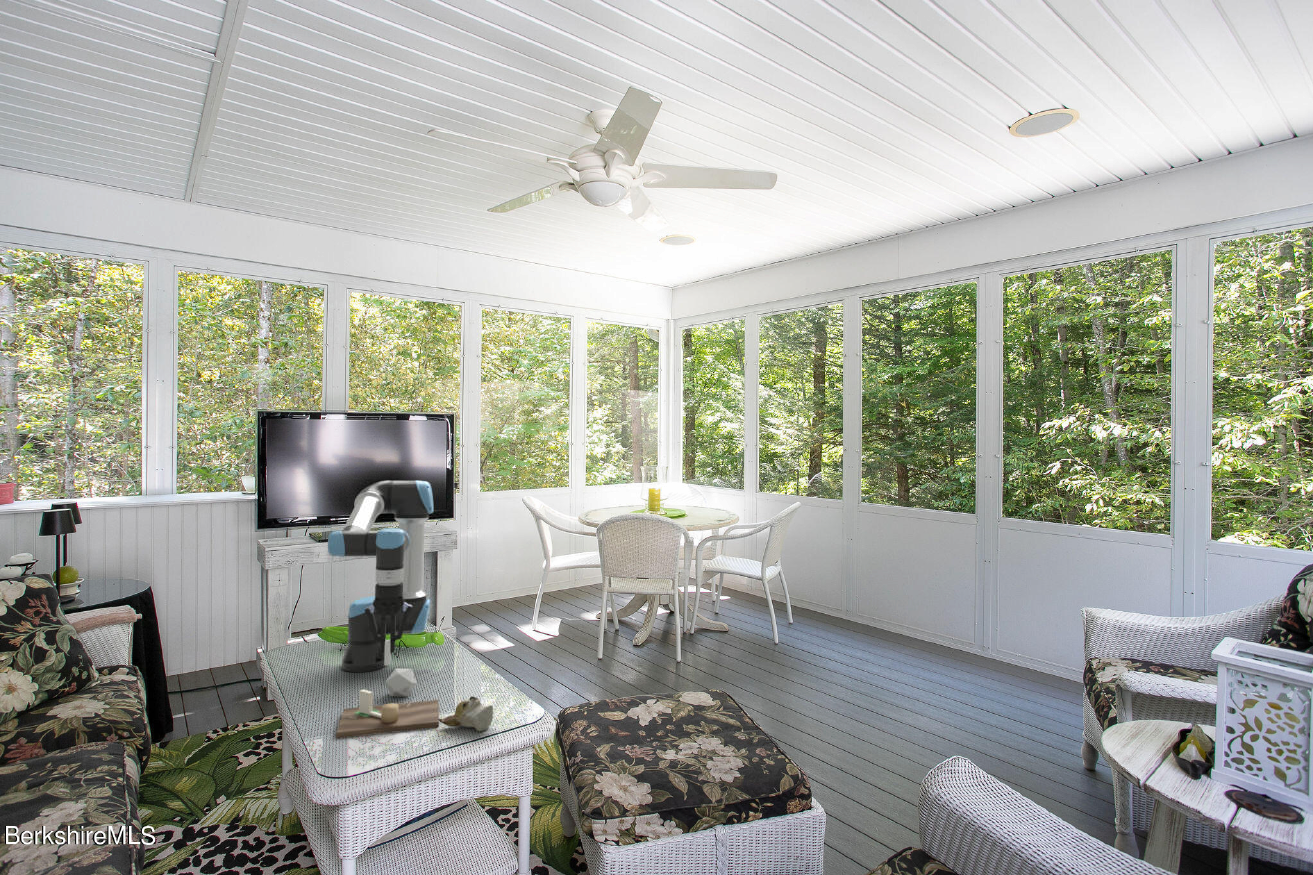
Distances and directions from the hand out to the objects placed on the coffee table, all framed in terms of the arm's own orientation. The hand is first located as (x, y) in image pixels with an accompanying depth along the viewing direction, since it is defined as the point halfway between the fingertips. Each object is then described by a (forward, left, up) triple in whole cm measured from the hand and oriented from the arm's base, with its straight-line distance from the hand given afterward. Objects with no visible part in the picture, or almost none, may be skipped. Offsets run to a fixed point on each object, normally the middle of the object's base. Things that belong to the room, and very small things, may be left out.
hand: (387, 663), depth 192 cm
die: (-15, +3, -15) cm, 21 cm away
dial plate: (+4, +1, -15) cm, 16 cm away
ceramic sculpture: (+14, +23, -15) cm, 31 cm away
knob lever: (+5, -2, -13) cm, 14 cm away
